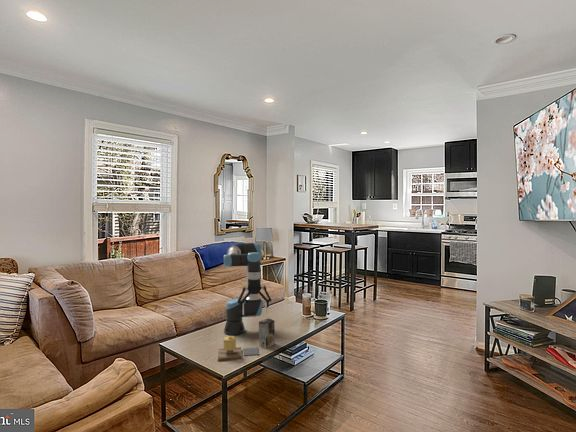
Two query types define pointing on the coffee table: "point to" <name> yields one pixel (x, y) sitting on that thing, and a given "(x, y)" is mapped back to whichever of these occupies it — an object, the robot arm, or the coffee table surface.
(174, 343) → the coffee table surface
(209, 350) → the coffee table surface
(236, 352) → the post base
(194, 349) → the coffee table surface
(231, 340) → the yellow lidded jar
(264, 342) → the coffee box
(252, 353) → the mat
